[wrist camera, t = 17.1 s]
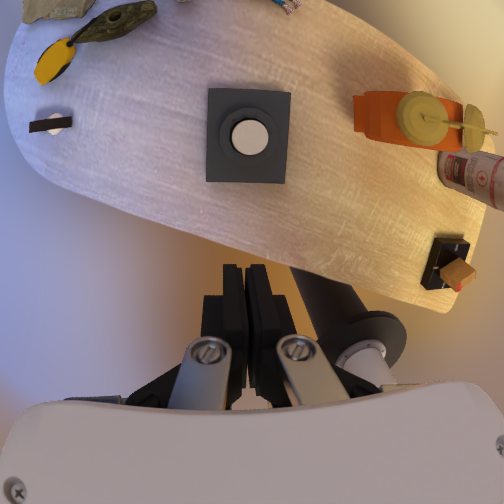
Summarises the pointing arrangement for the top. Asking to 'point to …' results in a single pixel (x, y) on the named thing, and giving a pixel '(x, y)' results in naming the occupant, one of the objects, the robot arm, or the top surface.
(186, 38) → the top surface
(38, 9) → the stone
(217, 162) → the dark grey button base
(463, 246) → the panel
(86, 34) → the decorative stone
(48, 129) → the watch
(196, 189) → the top surface
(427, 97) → the alarm clock
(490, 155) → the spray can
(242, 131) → the white push button
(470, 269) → the knob
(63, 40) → the walkie talkie
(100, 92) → the top surface
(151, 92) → the top surface
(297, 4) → the figurine
